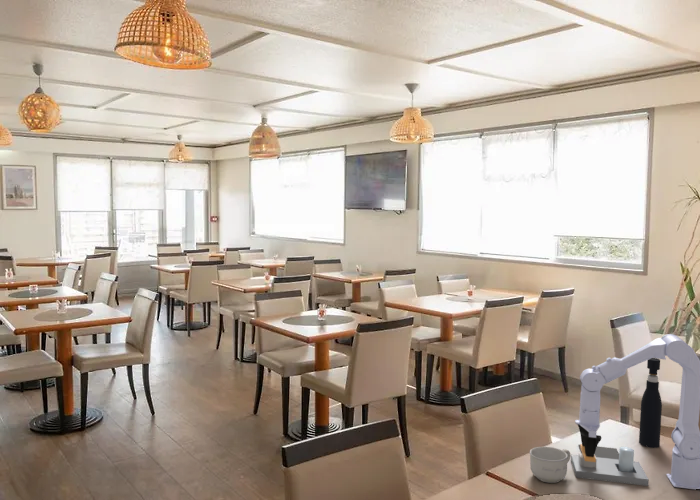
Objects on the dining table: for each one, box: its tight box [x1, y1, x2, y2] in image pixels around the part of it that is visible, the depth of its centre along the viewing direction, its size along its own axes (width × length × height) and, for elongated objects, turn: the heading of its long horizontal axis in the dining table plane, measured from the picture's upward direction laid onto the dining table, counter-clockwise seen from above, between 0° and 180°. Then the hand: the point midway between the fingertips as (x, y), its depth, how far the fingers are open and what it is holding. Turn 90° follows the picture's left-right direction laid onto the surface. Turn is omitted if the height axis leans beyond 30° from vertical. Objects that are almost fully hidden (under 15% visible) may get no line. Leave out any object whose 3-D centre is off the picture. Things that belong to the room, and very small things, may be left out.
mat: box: [578, 443, 619, 460], centre depth 190 cm, size 12×12×1 cm
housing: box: [570, 452, 650, 487], centre depth 177 cm, size 20×12×5 cm, turn 76°
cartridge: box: [618, 446, 635, 473], centre depth 175 cm, size 4×4×8 cm
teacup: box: [529, 446, 571, 484], centre depth 173 cm, size 14×11×8 cm
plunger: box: [579, 443, 596, 462], centre depth 178 cm, size 3×10×4 cm, turn 166°
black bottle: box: [638, 358, 663, 449], centre depth 198 cm, size 6×6×30 cm
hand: (587, 451), depth 178 cm, fingers open, 7 cm apart
